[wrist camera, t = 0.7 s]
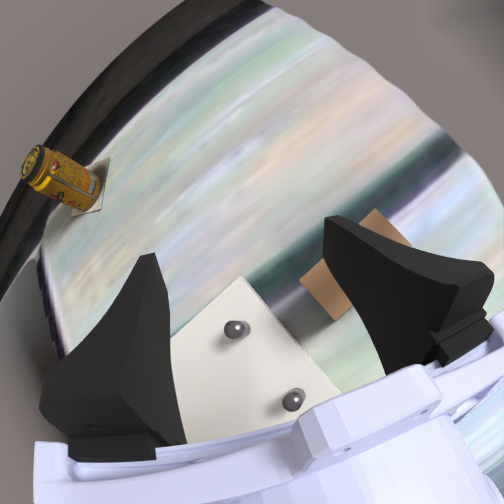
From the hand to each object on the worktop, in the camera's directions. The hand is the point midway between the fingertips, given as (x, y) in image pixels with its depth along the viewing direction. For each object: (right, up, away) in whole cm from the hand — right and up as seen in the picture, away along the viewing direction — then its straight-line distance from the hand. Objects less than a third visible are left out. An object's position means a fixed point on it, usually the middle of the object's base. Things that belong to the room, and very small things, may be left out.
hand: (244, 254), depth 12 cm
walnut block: (+10, -2, +14) cm, 17 cm away
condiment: (-24, +10, +28) cm, 38 cm away
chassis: (-2, -14, +15) cm, 21 cm away
